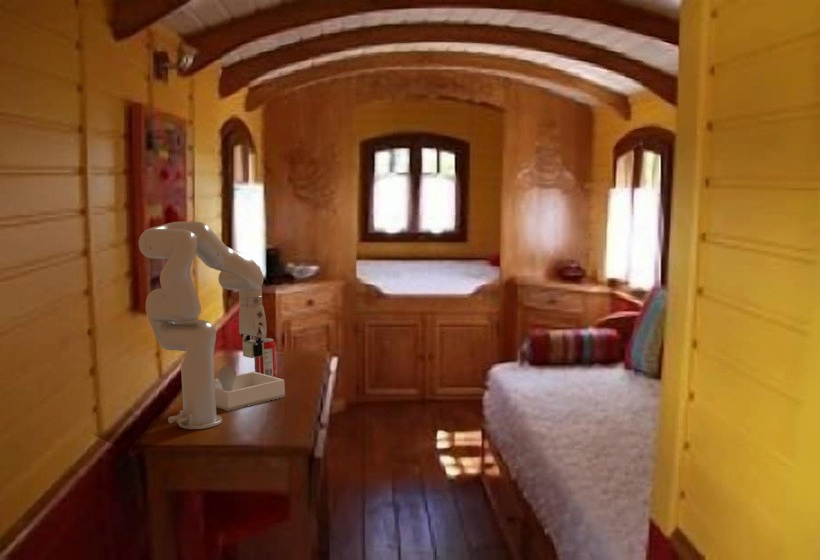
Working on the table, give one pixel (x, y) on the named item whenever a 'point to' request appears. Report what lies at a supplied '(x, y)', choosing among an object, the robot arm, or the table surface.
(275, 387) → the tote
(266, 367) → the soda can
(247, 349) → the sage cube
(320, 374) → the table surface
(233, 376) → the lightbulb
